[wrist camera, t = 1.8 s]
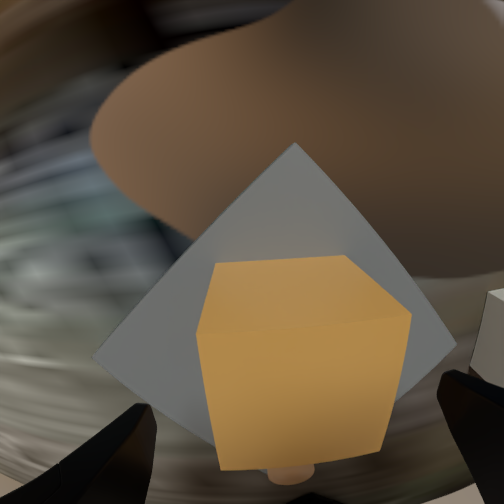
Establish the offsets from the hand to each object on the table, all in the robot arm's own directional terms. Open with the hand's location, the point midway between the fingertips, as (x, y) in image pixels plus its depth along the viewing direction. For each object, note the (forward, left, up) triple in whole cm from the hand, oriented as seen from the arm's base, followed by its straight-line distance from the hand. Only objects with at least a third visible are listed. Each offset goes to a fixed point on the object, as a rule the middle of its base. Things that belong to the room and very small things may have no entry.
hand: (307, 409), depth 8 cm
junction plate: (-1, -2, -7) cm, 7 cm away
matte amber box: (0, 0, -6) cm, 6 cm away
